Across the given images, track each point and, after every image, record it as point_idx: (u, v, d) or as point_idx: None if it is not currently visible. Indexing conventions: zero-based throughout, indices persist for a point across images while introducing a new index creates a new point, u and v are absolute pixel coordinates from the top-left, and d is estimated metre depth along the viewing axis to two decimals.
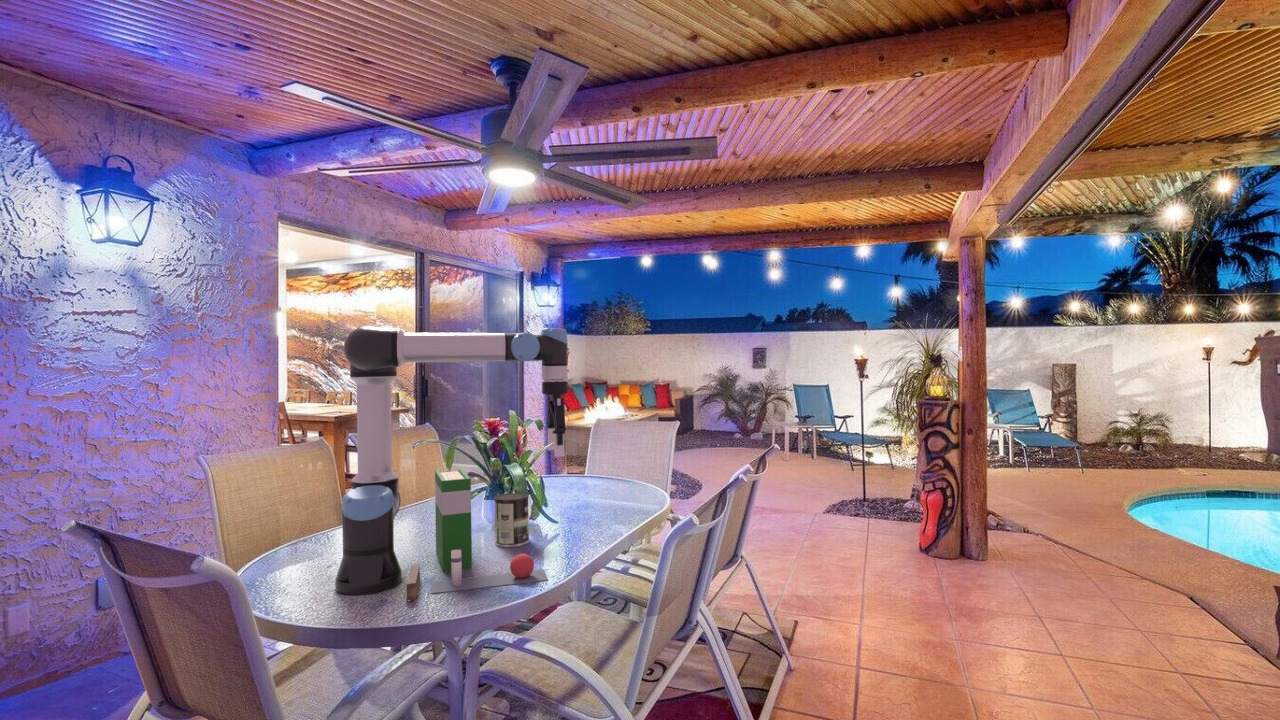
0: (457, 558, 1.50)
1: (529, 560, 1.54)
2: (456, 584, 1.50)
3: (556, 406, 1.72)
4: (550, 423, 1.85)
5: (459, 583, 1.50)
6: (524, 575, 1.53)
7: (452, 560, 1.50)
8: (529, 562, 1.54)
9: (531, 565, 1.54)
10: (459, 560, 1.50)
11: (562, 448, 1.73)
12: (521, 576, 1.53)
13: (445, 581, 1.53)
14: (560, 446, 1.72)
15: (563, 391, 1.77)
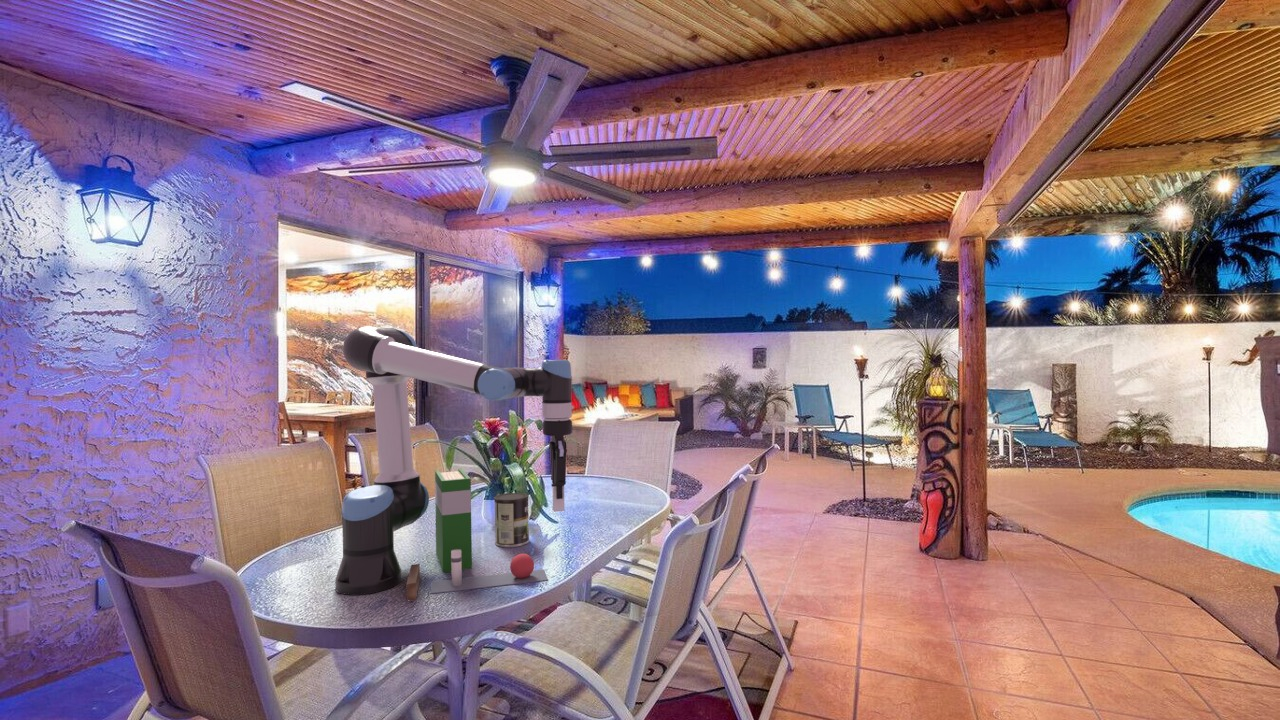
0: (457, 558, 1.50)
1: (529, 560, 1.54)
2: (456, 584, 1.50)
3: (558, 458, 1.53)
4: None
5: (459, 583, 1.50)
6: (524, 575, 1.53)
7: (452, 560, 1.50)
8: (529, 562, 1.54)
9: (531, 565, 1.54)
10: (459, 560, 1.50)
11: (562, 501, 1.57)
12: (521, 576, 1.53)
13: (445, 581, 1.53)
14: (560, 500, 1.57)
15: (567, 431, 1.55)
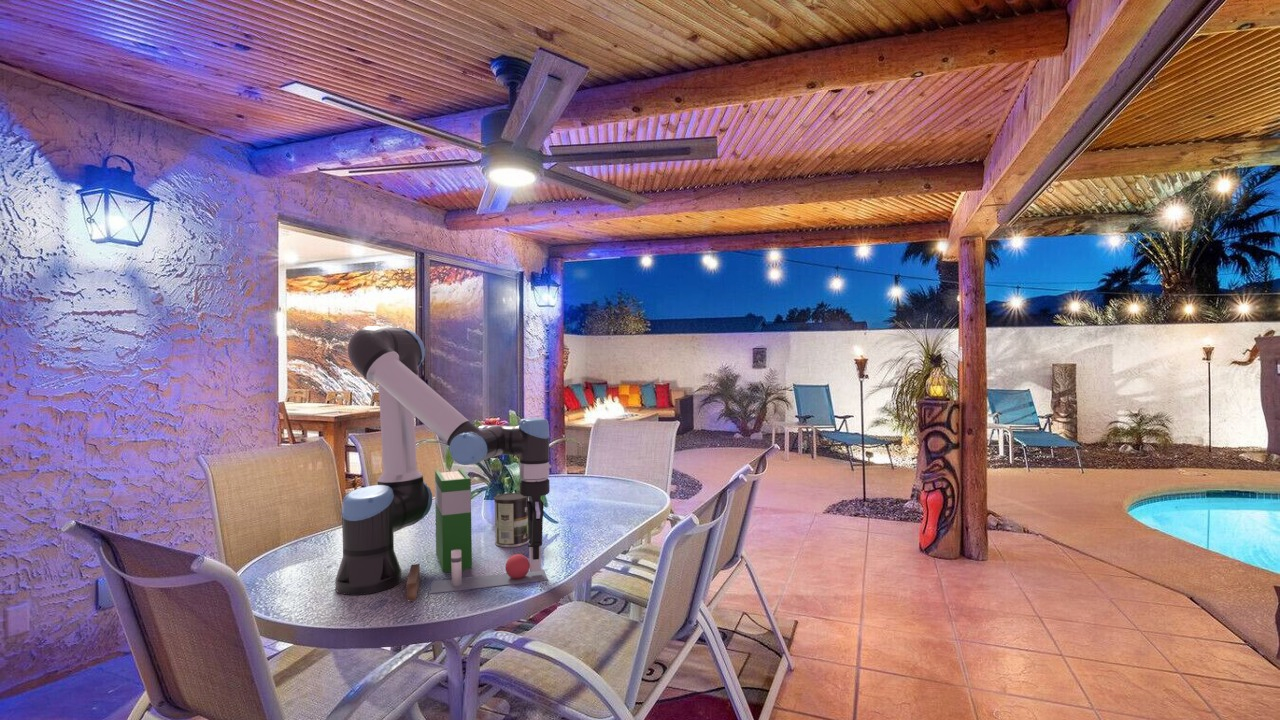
0: (457, 558, 1.50)
1: (522, 559, 1.53)
2: (456, 584, 1.50)
3: (534, 520, 1.51)
4: None
5: (459, 583, 1.50)
6: (521, 575, 1.53)
7: (452, 560, 1.50)
8: (523, 562, 1.53)
9: (526, 564, 1.53)
10: (459, 560, 1.50)
11: (539, 561, 1.56)
12: (518, 577, 1.53)
13: (445, 581, 1.53)
14: (536, 560, 1.56)
15: (544, 492, 1.54)
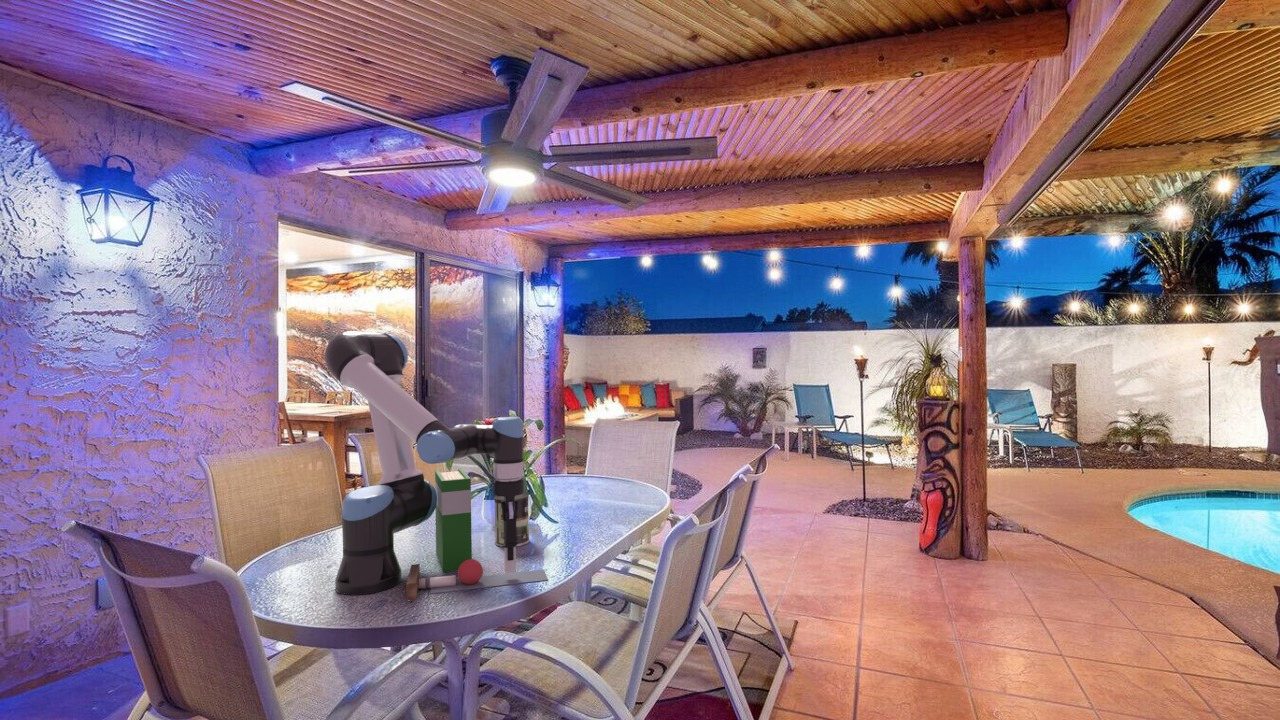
0: (425, 583, 1.48)
1: (470, 584, 1.50)
2: (452, 582, 1.49)
3: (508, 520, 1.49)
4: None
5: (452, 579, 1.50)
6: (465, 571, 1.49)
7: (427, 587, 1.48)
8: (468, 583, 1.49)
9: (465, 582, 1.49)
10: (428, 580, 1.48)
11: (514, 562, 1.54)
12: (466, 568, 1.49)
13: None
14: (511, 561, 1.54)
15: (518, 492, 1.52)
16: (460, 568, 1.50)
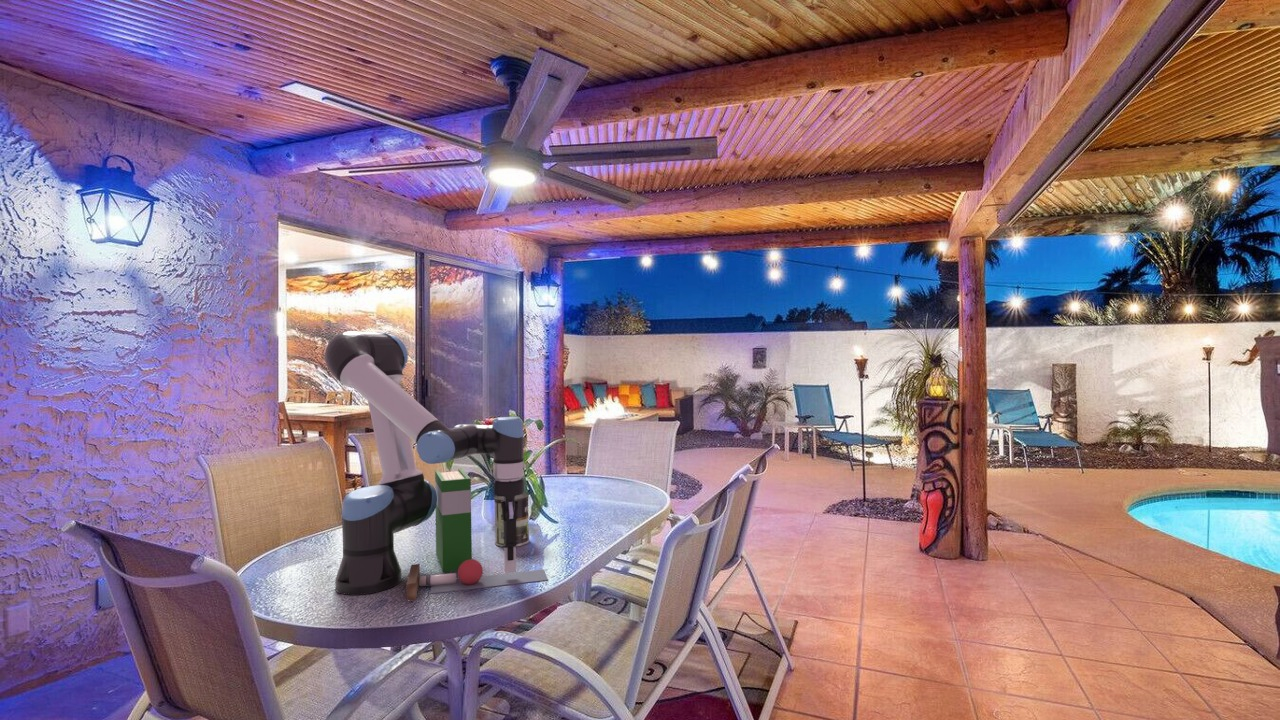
0: (426, 575, 1.51)
1: (470, 584, 1.50)
2: (453, 574, 1.52)
3: (508, 520, 1.49)
4: None
5: (453, 573, 1.52)
6: (465, 571, 1.49)
7: (428, 579, 1.50)
8: (468, 583, 1.49)
9: (465, 582, 1.49)
10: (429, 575, 1.51)
11: (514, 562, 1.54)
12: (466, 568, 1.49)
13: None
14: (511, 561, 1.54)
15: (518, 492, 1.52)
16: (460, 568, 1.50)
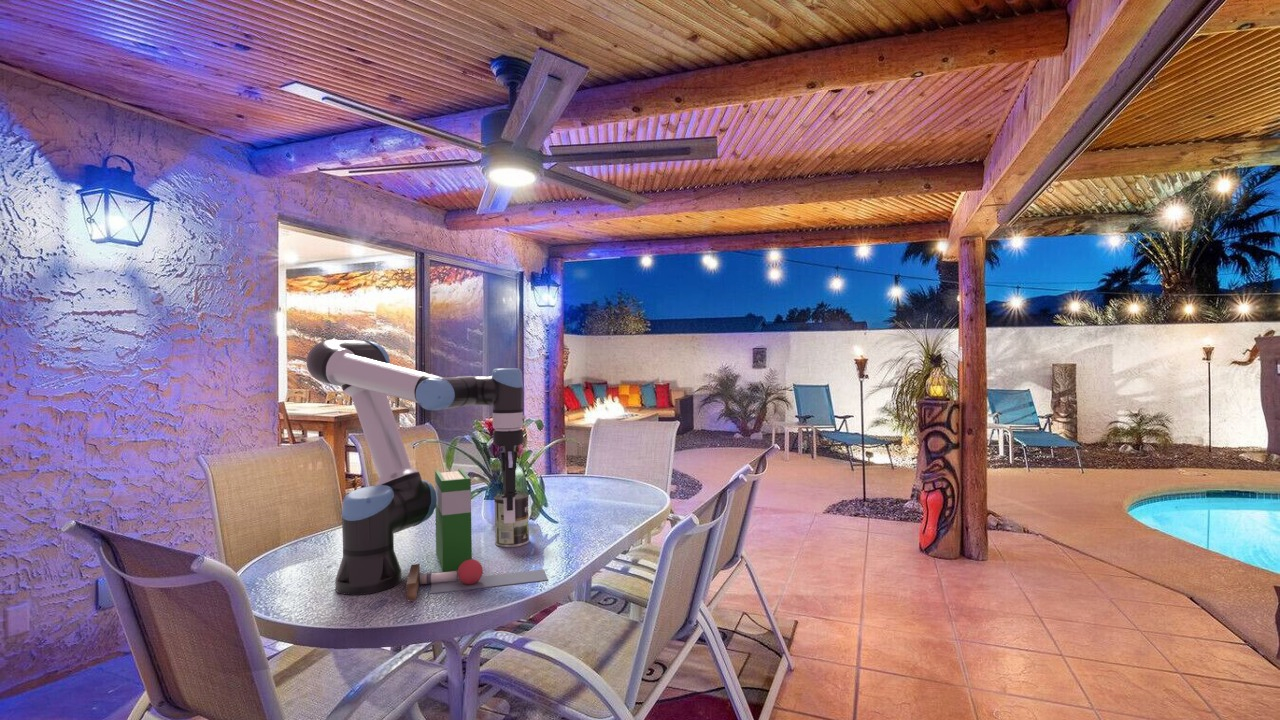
0: None
1: (470, 584, 1.50)
2: None
3: (507, 469, 1.49)
4: None
5: None
6: (465, 571, 1.49)
7: (429, 573, 1.52)
8: (468, 583, 1.49)
9: (465, 582, 1.49)
10: None
11: (513, 513, 1.54)
12: (466, 568, 1.49)
13: None
14: (510, 511, 1.54)
15: (517, 442, 1.52)
16: (460, 568, 1.50)
